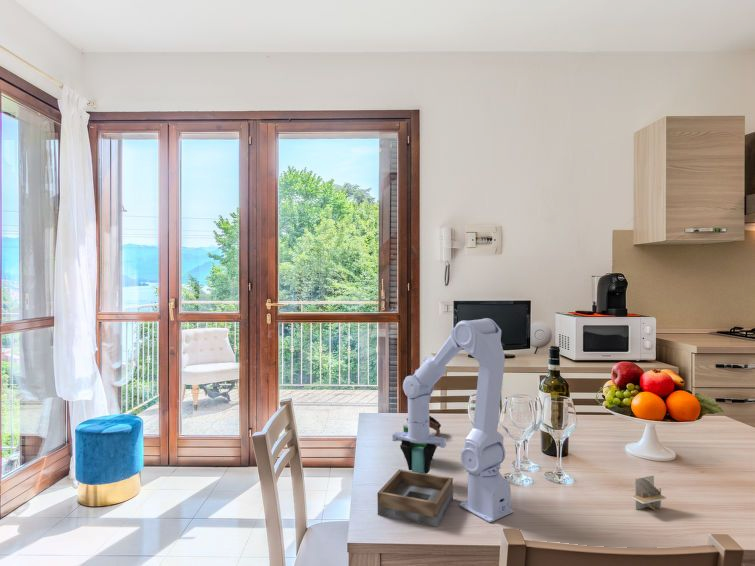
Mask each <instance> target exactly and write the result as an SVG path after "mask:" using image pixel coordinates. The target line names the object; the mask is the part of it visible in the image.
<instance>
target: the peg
mask: <svg viewBox="0 0 755 566" xmlns="http://www.w3.org/2000/svg"><path fill="white" fill-rule="evenodd" d="M423 449H424V448H423V447H414V448H412V470H411V471H412V472H418V473H424V474H428V473H425V456H424V450H423Z"/></svg>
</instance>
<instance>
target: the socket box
mask: <svg viewBox="0 0 755 566" xmlns="http://www.w3.org/2000/svg"><path fill="white" fill-rule="evenodd" d="M453 479H454V478H453V477H448V476H441V475H436V474H429V473H427V474H424V473H418V472H412V470H411V471H410V470H405V469H398V470H397V471H396V472H395V473H394V474H393V475H392V477H390V479H388V481H387V482H386V483H385V484H384V485H383V486H382V487H381V488H380V490H378V492H377V495H376V496H377V515H378V516H384V517H388V518H391V519H392V518H393V519H398V520H403V521H407V522H412V523H417V524H422V525H427V526H431V527H436V528H437V527H438V525H439V524H440V522H441V520H442V519H443V517H444V515H445V514H446V512H447V510H448V508H449V506H450V504H451V503H452V501H453V499H454V480H453Z"/></svg>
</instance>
